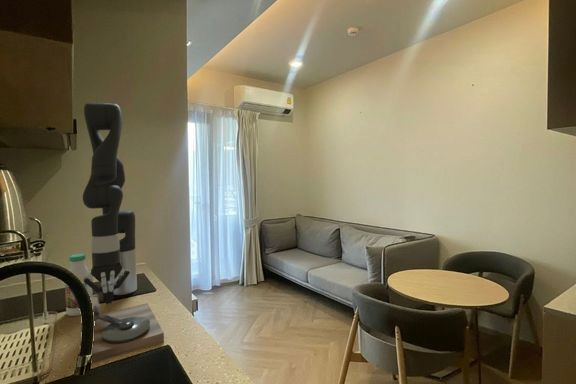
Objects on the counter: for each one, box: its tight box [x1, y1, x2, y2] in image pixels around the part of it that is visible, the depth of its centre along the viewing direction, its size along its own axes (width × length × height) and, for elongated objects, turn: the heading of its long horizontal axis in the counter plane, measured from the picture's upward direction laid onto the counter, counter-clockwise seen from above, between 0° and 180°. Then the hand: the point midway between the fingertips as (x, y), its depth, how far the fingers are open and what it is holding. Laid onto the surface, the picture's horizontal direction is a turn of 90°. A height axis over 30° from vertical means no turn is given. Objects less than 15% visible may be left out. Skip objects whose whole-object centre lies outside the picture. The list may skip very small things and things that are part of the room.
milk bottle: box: [64, 253, 94, 317], centre depth 104 cm, size 8×8×20 cm
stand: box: [92, 303, 165, 364], centre depth 89 cm, size 24×18×4 cm
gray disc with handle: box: [90, 294, 150, 343], centre depth 87 cm, size 22×12×8 cm, turn 63°
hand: (108, 302), depth 94 cm, fingers closed
